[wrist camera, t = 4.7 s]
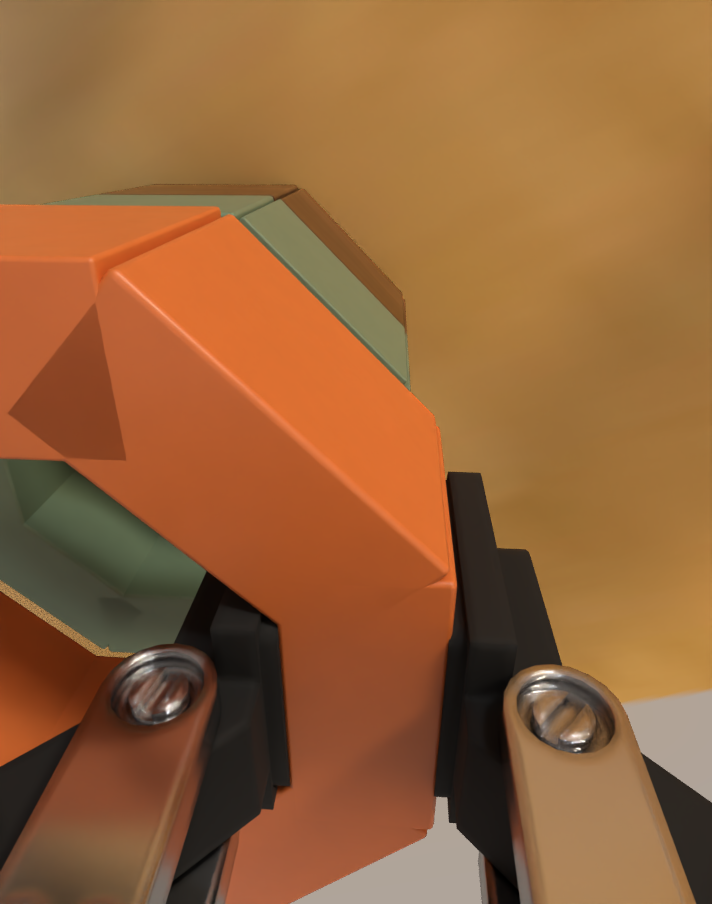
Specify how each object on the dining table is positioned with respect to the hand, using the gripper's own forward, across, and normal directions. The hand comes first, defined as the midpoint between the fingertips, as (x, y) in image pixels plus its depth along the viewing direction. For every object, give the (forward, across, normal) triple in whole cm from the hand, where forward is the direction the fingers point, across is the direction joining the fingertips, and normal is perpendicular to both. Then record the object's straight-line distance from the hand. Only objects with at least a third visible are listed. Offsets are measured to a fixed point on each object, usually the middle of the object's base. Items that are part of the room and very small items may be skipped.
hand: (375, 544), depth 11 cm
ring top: (0, +4, 0) cm, 5 cm away
